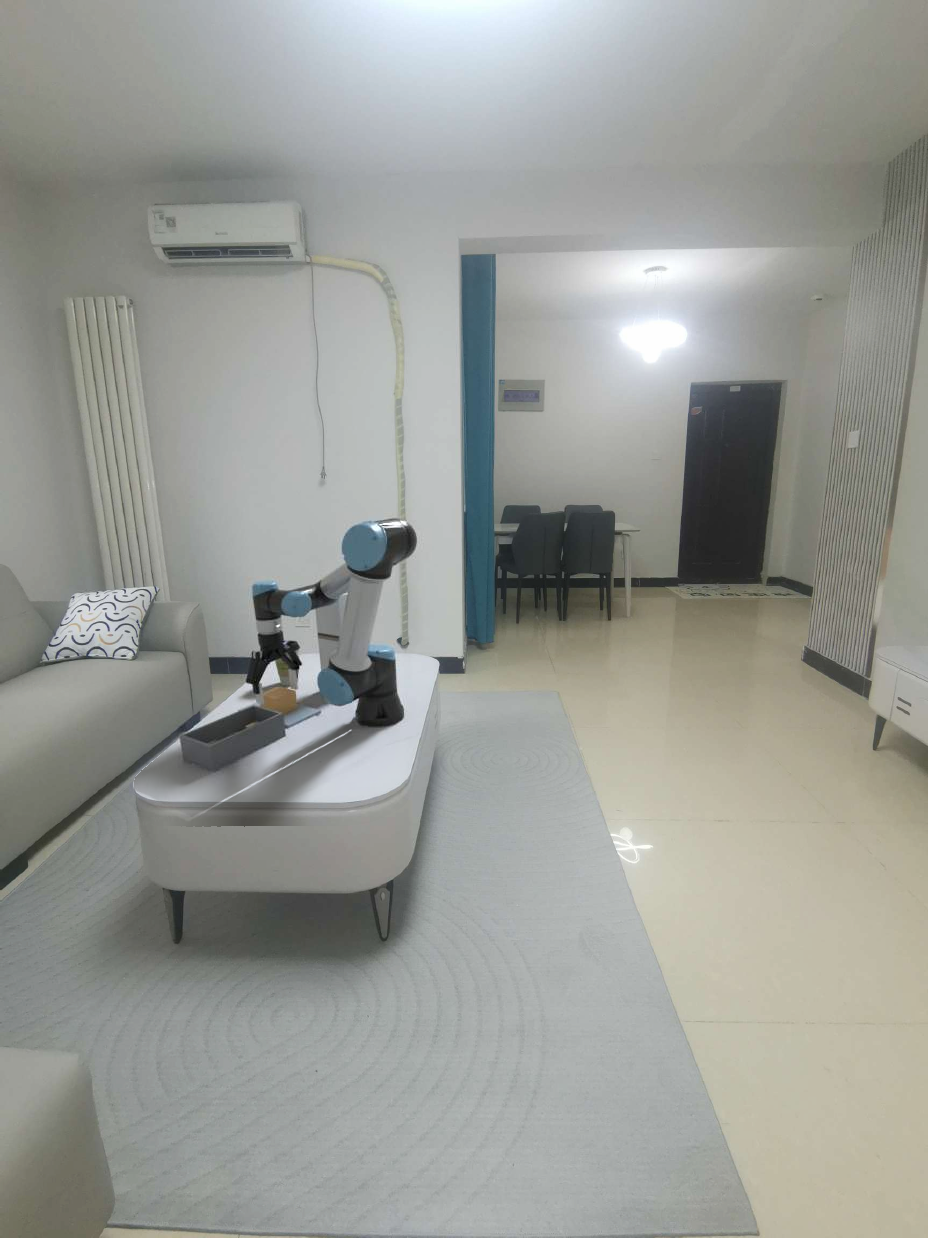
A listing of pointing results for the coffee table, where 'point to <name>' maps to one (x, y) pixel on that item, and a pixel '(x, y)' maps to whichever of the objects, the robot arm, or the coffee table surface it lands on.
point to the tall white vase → (329, 628)
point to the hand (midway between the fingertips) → (277, 695)
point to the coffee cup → (286, 666)
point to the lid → (286, 706)
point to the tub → (232, 737)
